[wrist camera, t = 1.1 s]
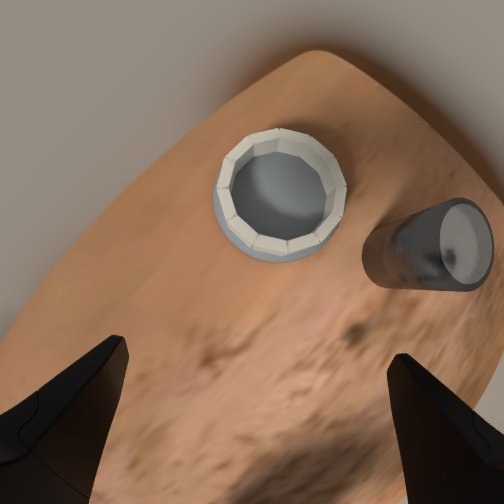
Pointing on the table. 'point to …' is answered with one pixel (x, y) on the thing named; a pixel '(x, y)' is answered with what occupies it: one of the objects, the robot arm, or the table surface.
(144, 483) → the table surface
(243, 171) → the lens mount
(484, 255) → the lens
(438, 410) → the robot arm
